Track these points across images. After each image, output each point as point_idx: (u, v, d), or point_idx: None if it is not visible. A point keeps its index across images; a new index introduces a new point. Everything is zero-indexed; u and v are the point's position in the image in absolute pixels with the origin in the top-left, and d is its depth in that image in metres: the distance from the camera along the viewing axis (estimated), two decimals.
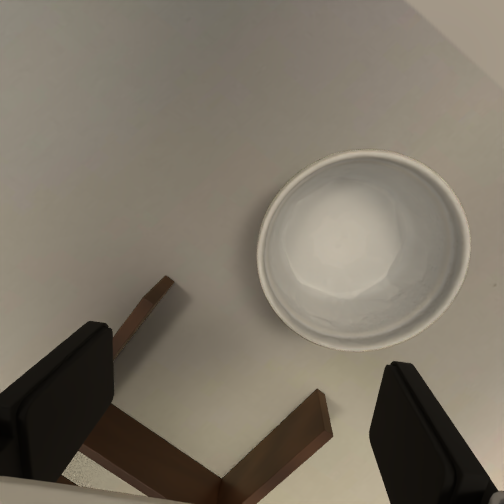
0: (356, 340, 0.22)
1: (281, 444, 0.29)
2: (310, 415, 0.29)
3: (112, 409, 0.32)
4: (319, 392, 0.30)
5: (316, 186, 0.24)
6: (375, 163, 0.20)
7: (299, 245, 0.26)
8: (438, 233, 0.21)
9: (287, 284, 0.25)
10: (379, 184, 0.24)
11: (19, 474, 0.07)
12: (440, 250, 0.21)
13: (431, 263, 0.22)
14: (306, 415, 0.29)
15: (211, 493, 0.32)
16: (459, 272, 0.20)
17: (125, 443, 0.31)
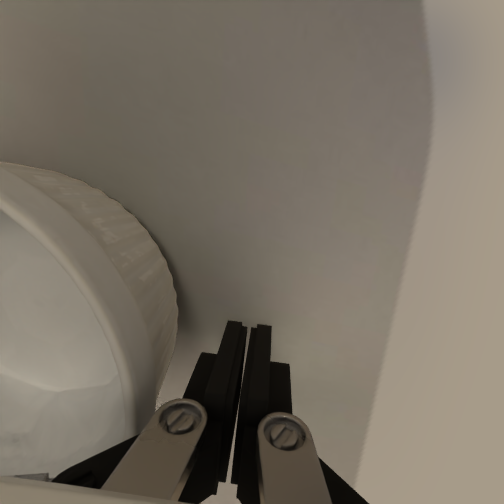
0: None
1: None
2: None
3: None
4: None
5: None
6: None
7: None
8: (107, 448, 0.11)
9: None
10: None
11: (219, 455, 0.08)
12: None
13: (70, 462, 0.12)
14: None
15: None
16: None
17: None
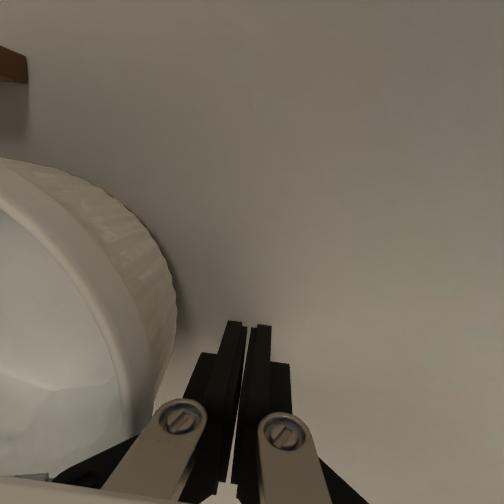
0: None
1: None
2: None
3: None
4: None
5: None
6: None
7: None
8: (103, 449, 0.11)
9: None
10: None
11: (219, 455, 0.08)
12: None
13: (65, 462, 0.12)
14: None
15: None
16: None
17: None
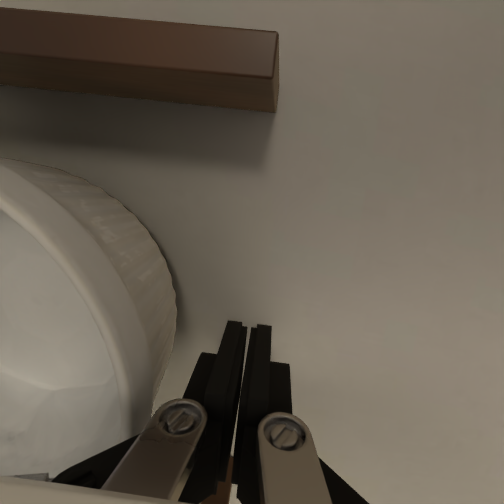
0: None
1: None
2: None
3: None
4: None
5: None
6: None
7: None
8: (103, 449, 0.11)
9: None
10: None
11: (219, 455, 0.08)
12: None
13: (65, 462, 0.12)
14: None
15: None
16: None
17: None
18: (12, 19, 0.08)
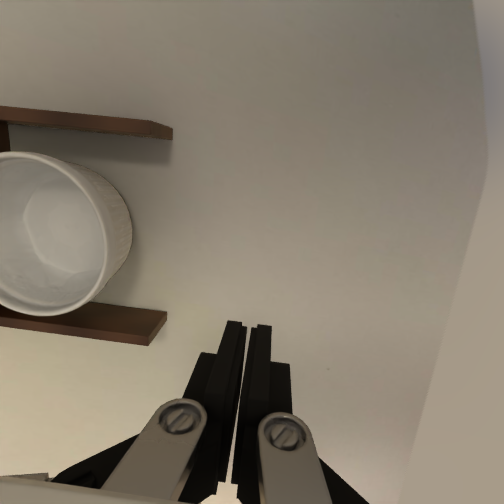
0: None
1: (103, 316, 0.31)
2: (145, 320, 0.31)
3: None
4: (166, 315, 0.33)
5: None
6: None
7: (46, 198, 0.30)
8: None
9: (0, 207, 0.28)
10: None
11: (219, 455, 0.08)
12: (88, 288, 0.28)
13: (82, 290, 0.28)
14: (142, 318, 0.31)
15: None
16: (69, 306, 0.26)
17: None
18: (68, 116, 0.24)
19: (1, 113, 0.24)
